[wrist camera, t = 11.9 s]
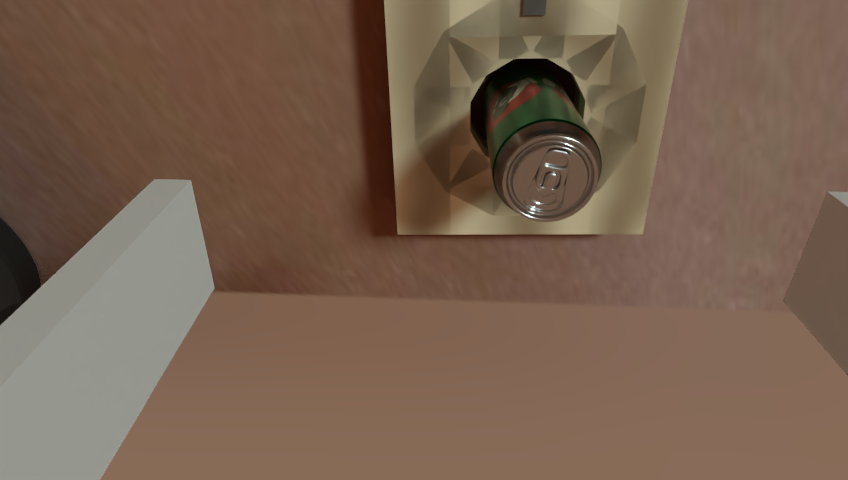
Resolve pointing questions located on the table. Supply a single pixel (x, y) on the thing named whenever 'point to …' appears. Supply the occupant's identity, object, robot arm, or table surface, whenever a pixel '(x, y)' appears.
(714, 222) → the table surface
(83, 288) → the robot arm
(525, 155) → the soda can
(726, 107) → the table surface
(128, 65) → the table surface
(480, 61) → the hub block
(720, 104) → the table surface
